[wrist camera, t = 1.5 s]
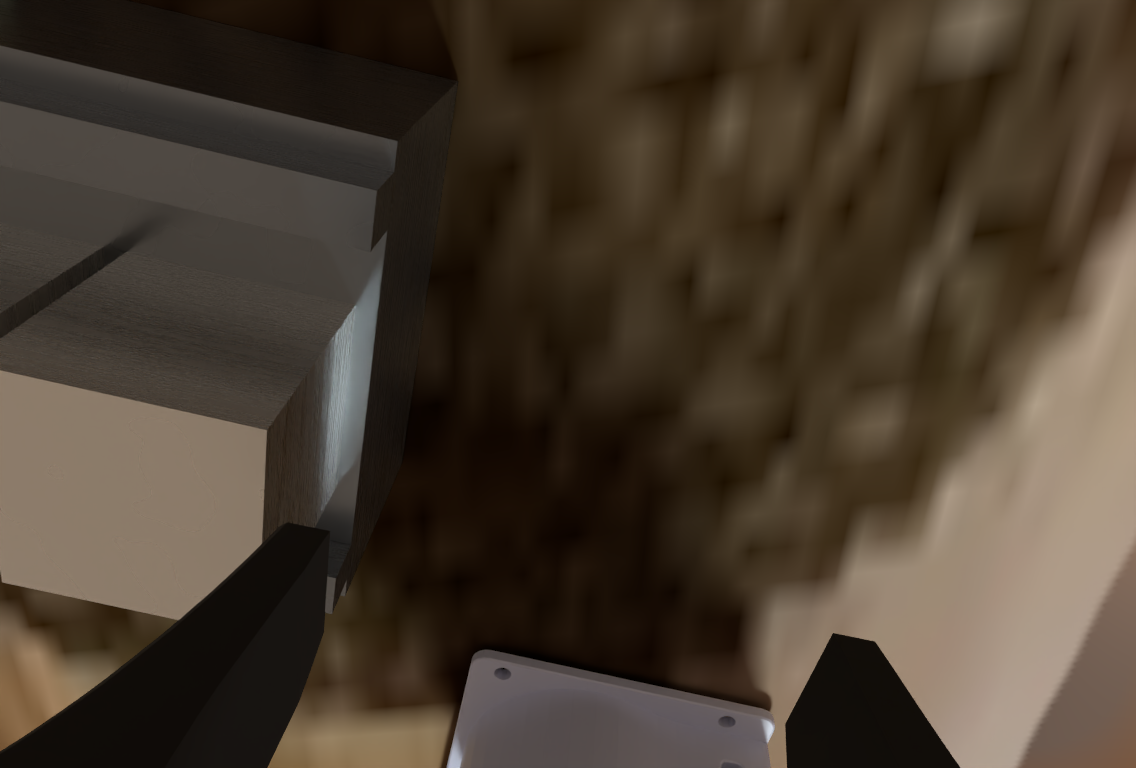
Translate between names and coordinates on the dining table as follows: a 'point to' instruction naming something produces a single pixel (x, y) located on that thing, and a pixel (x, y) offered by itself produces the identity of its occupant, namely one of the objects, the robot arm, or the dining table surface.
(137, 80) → the slot block
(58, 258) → the chip
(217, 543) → the chip
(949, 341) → the dining table surface
